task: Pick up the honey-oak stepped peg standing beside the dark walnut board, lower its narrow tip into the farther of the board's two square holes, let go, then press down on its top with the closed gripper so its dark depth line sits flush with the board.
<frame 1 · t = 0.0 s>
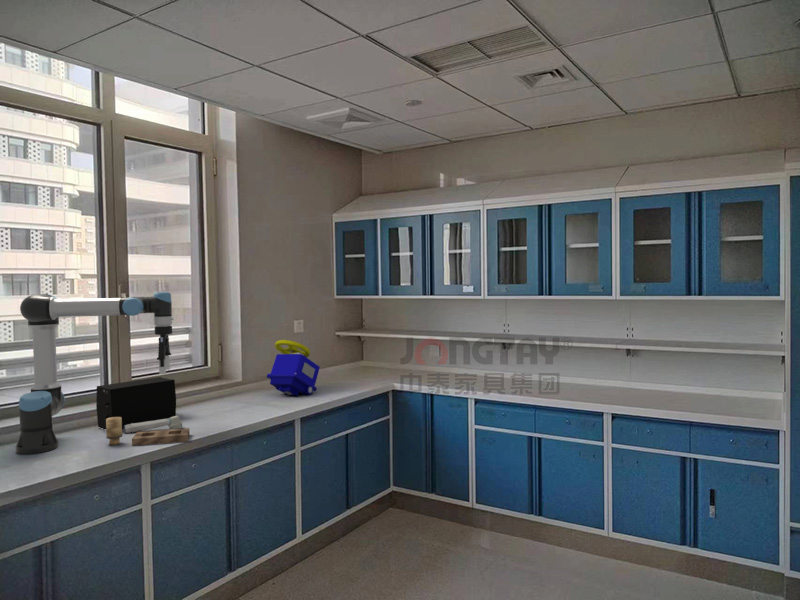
hand: (164, 371, 272), 28 cm above the table, tool pointing down, fingers open, 13 cm apart
walnut board: (161, 440, 259), on the table
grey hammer: (153, 431, 276), on the table
control box: (292, 393, 362), on the table
uninterruptible power supply: (136, 423, 291), on the table
oak peg: (114, 443, 255), on the table
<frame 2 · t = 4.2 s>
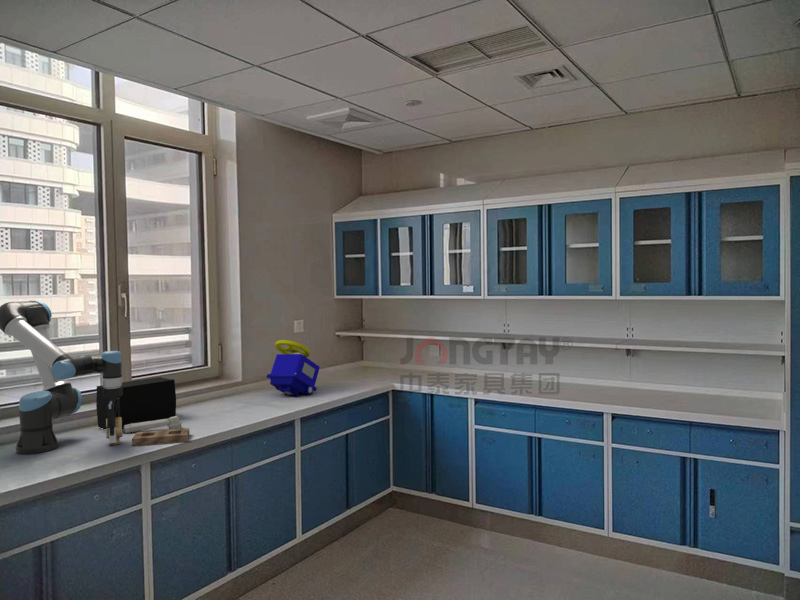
hand: (114, 440, 255), 1 cm above the table, tool pointing down, fingers closed on oak peg, 6 cm apart
oak peg: (114, 443, 255), on the table, touching gripper
everything else where it was.
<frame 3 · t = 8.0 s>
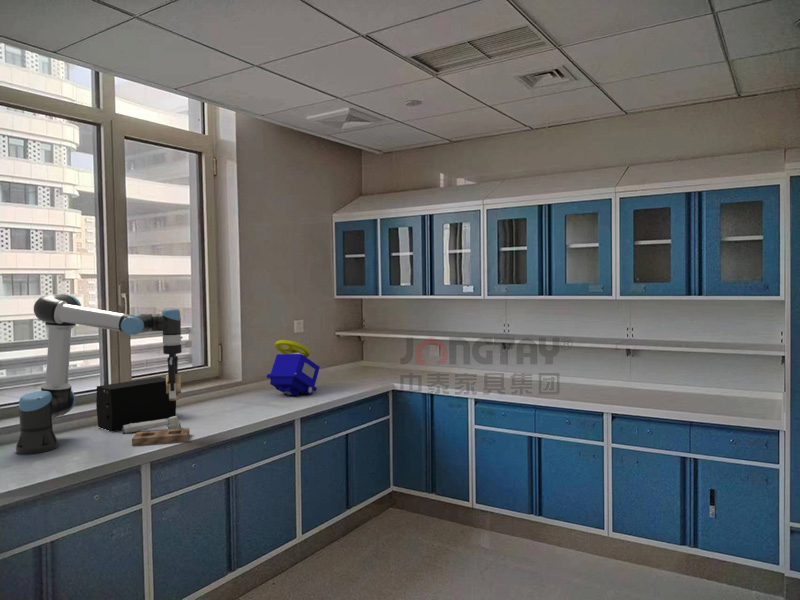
hand: (173, 396, 260), 19 cm above the table, tool pointing down, fingers closed on oak peg, 6 cm apart
oak peg: (173, 399, 260), point 17 cm above the table, touching gripper
everything else where it was.
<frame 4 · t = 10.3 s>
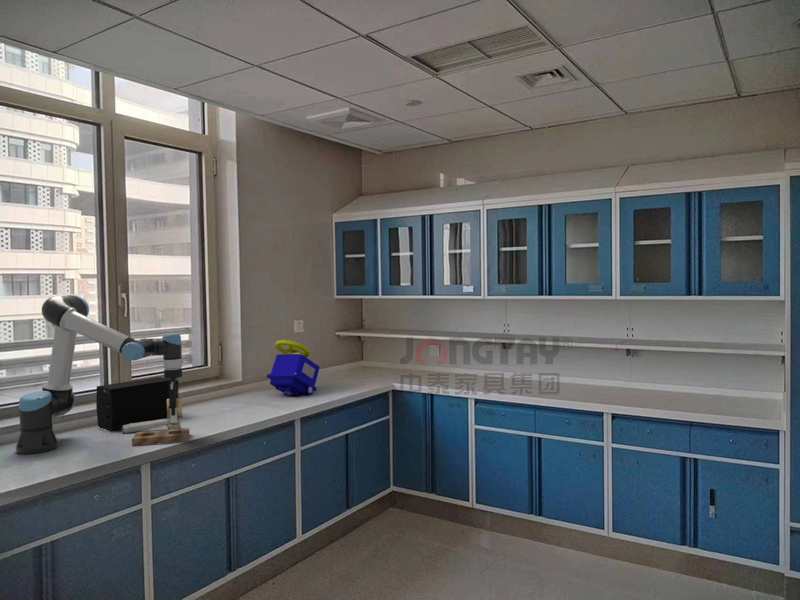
hand: (174, 420, 260), 8 cm above the table, tool pointing down, fingers closed on oak peg, 6 cm apart
oak peg: (174, 423, 260), point 7 cm above the table, touching gripper
everything else where it was.
when the fingers open (4 cm above the table, at t = 12.2 s): oak peg drops 2 cm, resting on walnut board.
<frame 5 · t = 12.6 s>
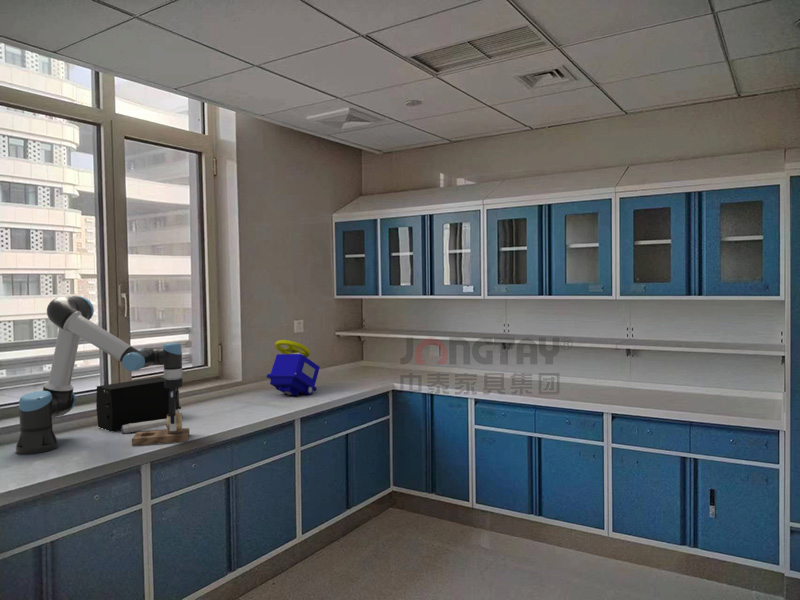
hand: (174, 427, 261), 5 cm above the table, tool pointing down, fingers open, 11 cm apart
oak peg: (175, 439, 261), resting on walnut board
everything else where it was.
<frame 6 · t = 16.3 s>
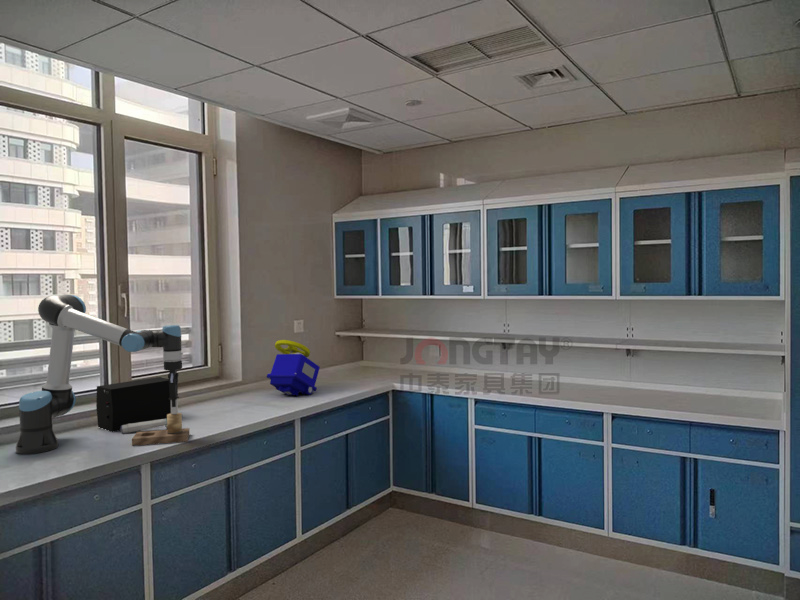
hand: (174, 413, 260), 11 cm above the table, tool pointing down, fingers closed
oak peg: (175, 439, 261), resting on walnut board, touching gripper
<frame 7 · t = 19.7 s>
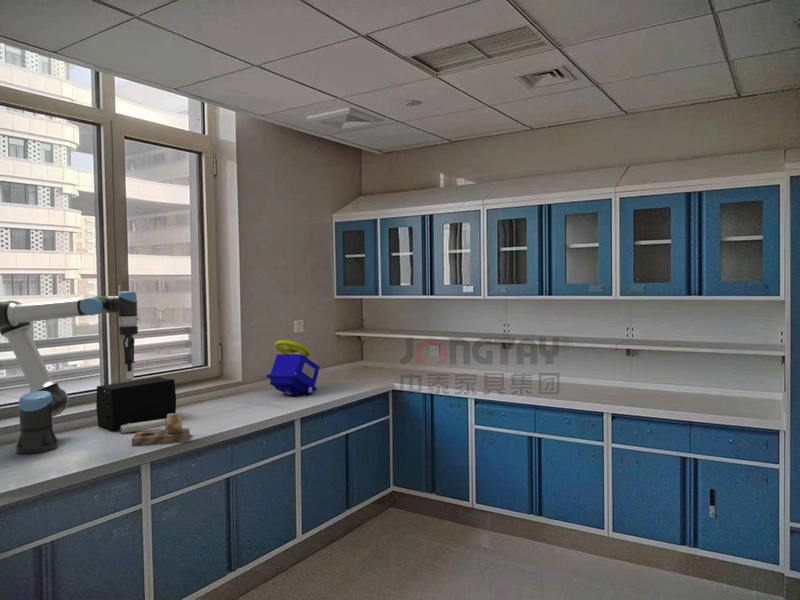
hand: (130, 378, 266), 26 cm above the table, tool pointing down, fingers closed
oak peg: (175, 439, 261), resting on walnut board
at the end: oak peg 0.1 cm from the target spot on the walnut board, point 0.0 cm above the walnut board's base; oak peg tilted 0°; the gripper is holding nothing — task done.
